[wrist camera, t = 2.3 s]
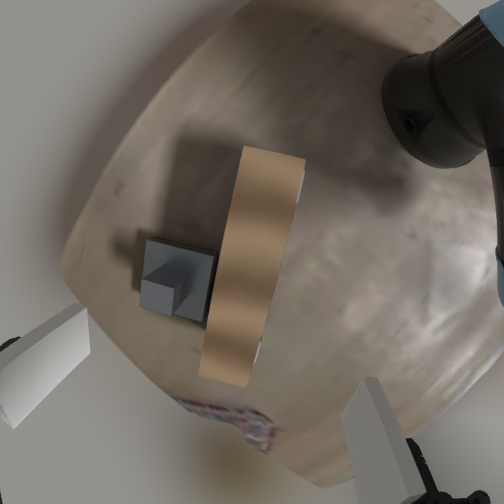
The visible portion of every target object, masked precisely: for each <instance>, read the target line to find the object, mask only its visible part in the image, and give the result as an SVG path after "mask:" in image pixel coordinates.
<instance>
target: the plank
mask: <svg viewBox="0 0 504 504" xmlns="http://www.w3.org/2000/svg"><path fill="white" fill-rule="evenodd" d="M305 163H306V159H302V158H298V157H294V156H290V155H286V154H282V153H277V152H273V151H268V150H264V149H259V148H254V147H249V146H244V147H243V151H242V155H241V159H240V164H239V168H238V172H237V177H236V181H235V186H234V190H233V195H232V199H231V204H230V209H229V213H228V218H227V223H226V228H225V232H224V237H223V242H222V247H221V252H220V257H219V262H218V267H217V272H216V278H215V283H214V288H213V293H212V299H211V304H210V310H209V315H208V321H207V327H206V332H205V338H204V344H203V350H202V356H201V362H200V368H199V374H198V376H201V377H205V378H209V379H212V380H216V381H220V382H224V383H228V384H232V385H237V386H241V387H247V383H248V380H249V377H250V373H251V370H252V367H253V363H254V360H255V357H256V353H257V350H258V346H259V343H260V339H261V336H262V332H263V329H264V325H265V322H266V318H267V314H268V311H269V307H270V303H271V300H272V296H273V292H274V289H275V285H276V281H277V277H278V274H279V270H280V266H281V262H282V258H283V254H284V250H285V246H286V242H287V238H288V234H289V230H290V226H291V222H292V218H293V214H294V210H295V206H296V202H297V197H298V193H299V189H300V184H301V180H302V176H303V171H304V167H305Z"/></svg>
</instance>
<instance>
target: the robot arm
mask: <svg viewBox="0 0 504 504" xmlns="http://www.w3.org/2000/svg"><path fill="white" fill-rule="evenodd" d="M382 98H383V105H384V110H385V113H386V116H387V119H388V121H389V123H390V126H391V128H392V130H393V131H394V133H395V135H396V136H397V138H398V139H399V140H400V142H401V143H402V144H403V146H404V147H405V148H406V149H407V150H408V151H409V152H410V153H411V154H412V155H413V156H415V157H416V158H417V159H419V160H420V161H422V162H423V163H425V164H427V165H429V166H432V167H435V168H441V169H448V168H457V167H461V166H464V165H466V164H468V163H469V162H470V161H472V160H473V159H474V158H475V157H476V156H477V155H478V154H480V153H481V152H483V151H484V150H485V149H486V150H487V154H488V159H489V164H490V171H491V176H492V183H493V189H494V197H495V205H496V218H497V247H496V251H495V255H496V260H497V288H498V294H499V298H500V301H501V303H502V305H503V306H504V0H500V1H498V2H496V3H494V4H493V5H491V6H489V7H487V8H485V9H481V10H480V11H479V14H478V15H477V16H475V17H474V18H473V19H471V20H470V21H469V22H468V23H467V24H465V25H464V26H463V27H462V28H460V29H459V30H458V31H457V32H455V33H454V34H453V35H452V36H451V37H449V38H448V39H447V40H446V41H445V42H443V43H442V44H441V45H440V46H439V47H437V48H436V49H435V50H433V51H428V52H425V53H423V54H413V55H409V56H406V57H404V58H402V59H400V60H399V61H398V62H397V63H396V64H395V65H394V66H393V67H392V68H391V69H390V70H389V71H388V73H387V74H386V76H385V79H384V82H383V88H382ZM89 354H90V344H89V333H88V318H87V307H85V306H83V305H81V304H78V303H76V302H75V303H74V304H72V305H70V306H69V307H67V308H66V309H64V310H63V311H61V312H59V313H58V314H56V315H55V316H53V317H52V318H50V319H49V320H47V321H45V322H44V323H42V324H41V325H40V326H38V327H36V328H35V329H33V330H32V331H30V332H29V333H27V334H26V335H24V336H23V337H16V338H12V339H9V340H8V341H6V342H5V343H3V344H2V346H0V415H1V417H2V419H3V420H4V421H5V422H6V423H8V424H9V425H10V426H11V427H12V428H13V429H15V428H16V427H17V426H18V425H19V423H21V421H22V420H23V419H24V418H25V417H26V416H27V415H28V414H29V413H30V412H31V411H32V410H33V409H34V408H35V407H36V406H37V405H38V404H39V403H40V402H41V401H42V400H43V399H44V398H45V397H46V396H47V395H48V394H49V393H50V392H51V390H53V389H54V388H55V387H56V386H57V385H58V384H59V383H60V381H62V380H63V379H64V378H65V377H66V376H67V375H68V374H69V373H70V372H71V371H72V370H73V369H74V368H75V367H76V366H77V365H78V364H79V363H80V362H81V361H82V360H83V359H84V358H86V357H87V356H88V355H89ZM340 419H341V423H342V427H343V431H344V435H345V440H346V444H347V448H348V453H349V457H350V462H351V466H352V471H353V476H354V481H355V485H356V491H357V496H358V501H359V504H490V498H489V496H488V494H487V493H486V492H484V491H481V490H478V491H475V492H473V493H472V494H471V495H470V496H468V497H467V498H458V499H453V498H452V497H451V495H449V494H448V493H446V492H439V491H438V489H437V487H436V485H435V482H434V480H433V478H432V475H431V473H430V471H429V468H428V466H427V464H426V461H425V459H424V457H422V456H423V455H422V452H421V450H420V448H419V446H418V445H417V444H416V443H415V442H414V441H413V439H412V438H407V439H405V437H404V435H403V433H402V430H401V428H400V426H399V424H398V421H397V419H396V417H395V415H394V413H393V410H392V408H391V406H390V404H389V402H388V400H387V398H386V396H385V393H384V391H383V389H382V387H381V385H380V383H379V381H378V379H377V378H371V377H363V378H362V380H361V382H360V384H359V385H358V387H357V389H356V391H355V393H354V394H353V396H352V398H351V400H350V401H349V403H348V405H347V407H346V408H345V410H344V412H343V413H342V415H341V416H340ZM0 504H2V498H1V493H0Z"/></svg>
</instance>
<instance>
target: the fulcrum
mask: <svg viewBox="0 0 504 504" xmlns="http://www.w3.org/2000/svg"><path fill="white" fill-rule="evenodd" d="M217 253H218V252H213V251H209V250H205V249H201V248H197V247H193V246H189V245H185V244H181V243H176V242H172V241H168V240H164V239H160V238H156V237H152V238H150V239H147V240H146V247H145V255H144V265H143V275H142V280H141V292H140V307H143V308H146V309H149V310H152V311H155V312H158V313H161V314H164V315H168V316H172V315H173V314H176V315H179V316H182V317H186V318H189V319H193V320H196V321H200V322H202V321H203V319H204V317H205V316H206V312H207V306H208V301H209V295H210V290H211V284H212V279H213V274H214V268H215V263H216V258H217Z"/></svg>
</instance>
